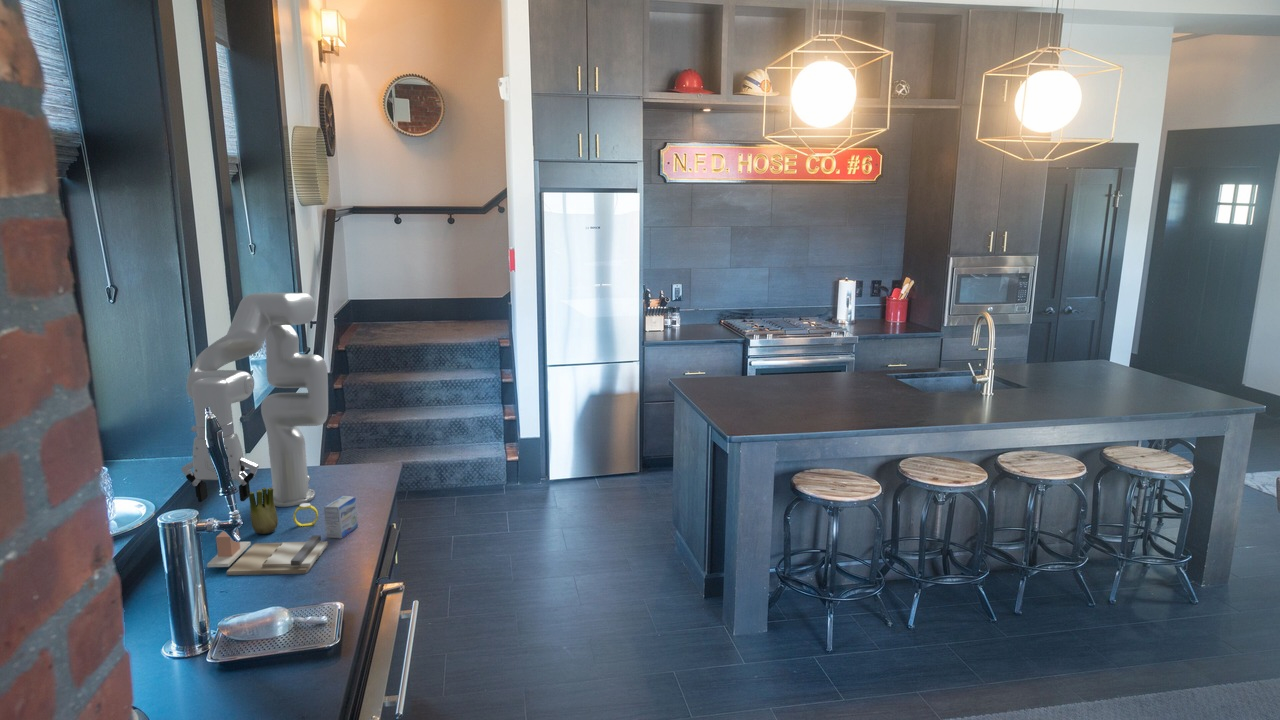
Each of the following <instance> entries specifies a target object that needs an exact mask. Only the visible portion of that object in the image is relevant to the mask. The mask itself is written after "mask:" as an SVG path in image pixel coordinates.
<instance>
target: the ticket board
mask: <svg viewBox="0 0 1280 720" xmlns="http://www.w3.org/2000/svg"><path fill="white" fill-rule="evenodd" d="M321 540H322V538H321V535H311V537H309V539H308V540H307V541H288V542H287V541H285V542H284V541H283V542H262V543H261V542H254V543H253V544H252V545H250V546H251V547H250V546H249V547H248V548H247V549H246V550H245V551H244V552H243V553H242V554H241V555H240V556H239V557H240V558H239V557H238V558H237V559H236V560H235V561H236V562H235V561H234V562H233V563H232V564H231V565H232V566H231V565H230V566H229V567H228V569H227V570H226V575H227V576H249V575H250V576H252V575H254V576H255V575H259V576H260V575H292V574H293V575H297V574H298V575H299V574H300V575H301V574H304V575H305V574H308V573H309V571H310V570H311V569H312V567H313V566H314V564H315V563H316V562H317V561H318V559H319V558H320V557H321V555H322V554H323V553H324V552H325V550H326V549H327V548H328V547H329V542H328V541H321ZM323 551H324V552H323ZM319 556H320V557H319ZM316 560H317V561H316Z"/></svg>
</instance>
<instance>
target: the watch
mask: <svg viewBox="0 0 1280 720" xmlns="http://www.w3.org/2000/svg"><path fill="white" fill-rule="evenodd" d="M307 509H311V510H313V512H314V513H315V516H316V517H315V519H314V520H313V521H312V522H308V523H301V522H299V521H298V520H297V517H296V514H297V512H298V511H300V510H307ZM292 515H293V516H292V517H293V519H292V520H293V522H294V523H295V525H296V526H298V527H299V528H302V527H303V526H304V527H311V526H314V524H316V523H317V520H318V519H319V512H318V509H317V508H316V507H315V506H314V505H312V504H311V503H310V502H306V503H303V504H300V505H298V507H297V508H296V509H295V511H294V512H293V514H292ZM301 526H302V527H301Z"/></svg>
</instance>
